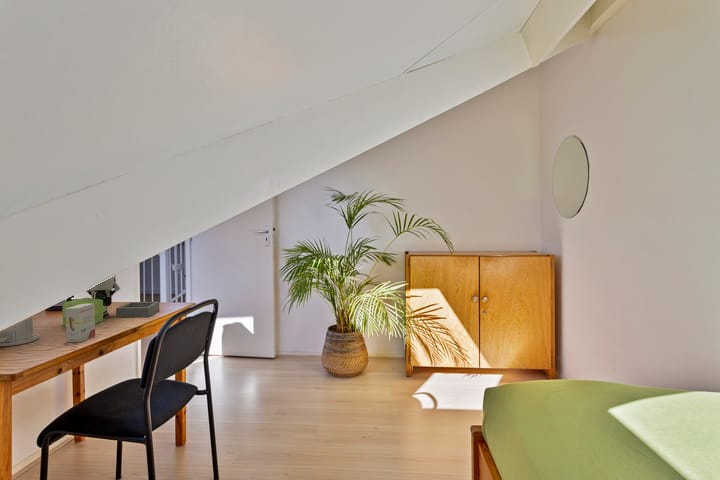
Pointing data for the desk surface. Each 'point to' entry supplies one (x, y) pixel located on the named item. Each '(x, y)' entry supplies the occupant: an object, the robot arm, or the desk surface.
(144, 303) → the tray
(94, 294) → the battery
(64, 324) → the lime green rounded box
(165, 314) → the desk surface
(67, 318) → the ink box
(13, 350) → the desk surface
